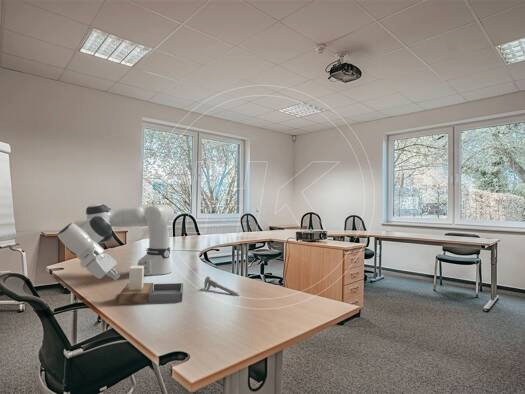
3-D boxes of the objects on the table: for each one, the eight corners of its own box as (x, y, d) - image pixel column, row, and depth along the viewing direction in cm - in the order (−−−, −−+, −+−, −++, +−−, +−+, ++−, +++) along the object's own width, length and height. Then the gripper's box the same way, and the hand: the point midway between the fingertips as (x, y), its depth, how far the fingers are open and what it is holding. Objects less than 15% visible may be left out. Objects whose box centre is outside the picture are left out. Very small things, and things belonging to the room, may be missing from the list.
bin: (148, 302, 129) (149, 294, 129) (153, 291, 144) (153, 283, 144) (181, 301, 131) (182, 293, 131) (183, 290, 147) (183, 283, 147)
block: (128, 289, 132) (129, 268, 132) (131, 286, 137) (131, 265, 137) (141, 289, 133) (142, 268, 133) (143, 286, 138) (144, 265, 138)
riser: (119, 304, 126) (119, 294, 126) (127, 292, 142) (127, 283, 142) (148, 302, 128) (148, 293, 128) (153, 291, 144) (153, 282, 144)
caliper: (204, 288, 152) (204, 275, 152) (205, 288, 153) (206, 275, 153) (238, 296, 141) (239, 282, 141) (240, 296, 142) (240, 282, 142)
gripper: (94, 256, 141) (117, 277, 143) (78, 266, 121) (105, 290, 123) (105, 246, 142) (128, 267, 144) (91, 254, 122) (118, 279, 124)
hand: (117, 278), depth 133 cm, fingers closed
